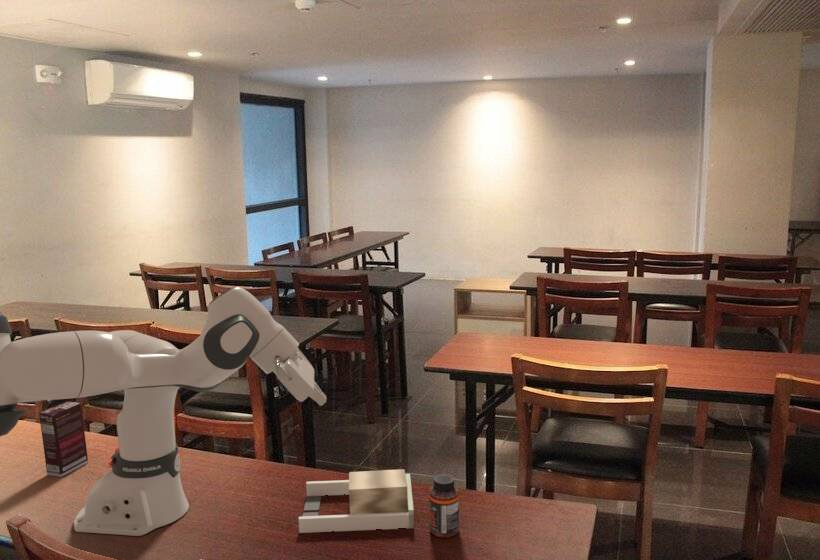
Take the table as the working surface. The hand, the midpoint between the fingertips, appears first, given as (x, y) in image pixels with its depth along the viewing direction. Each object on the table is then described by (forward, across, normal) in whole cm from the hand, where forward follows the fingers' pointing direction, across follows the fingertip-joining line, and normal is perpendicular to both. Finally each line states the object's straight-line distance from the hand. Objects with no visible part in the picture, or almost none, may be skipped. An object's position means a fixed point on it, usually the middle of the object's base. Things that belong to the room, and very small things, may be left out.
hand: (324, 401), depth 140 cm
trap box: (+23, +3, +11) cm, 26 cm away
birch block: (+26, +3, +8) cm, 27 cm away
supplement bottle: (+34, -8, -1) cm, 35 cm away
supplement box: (-24, +35, +62) cm, 75 cm away
